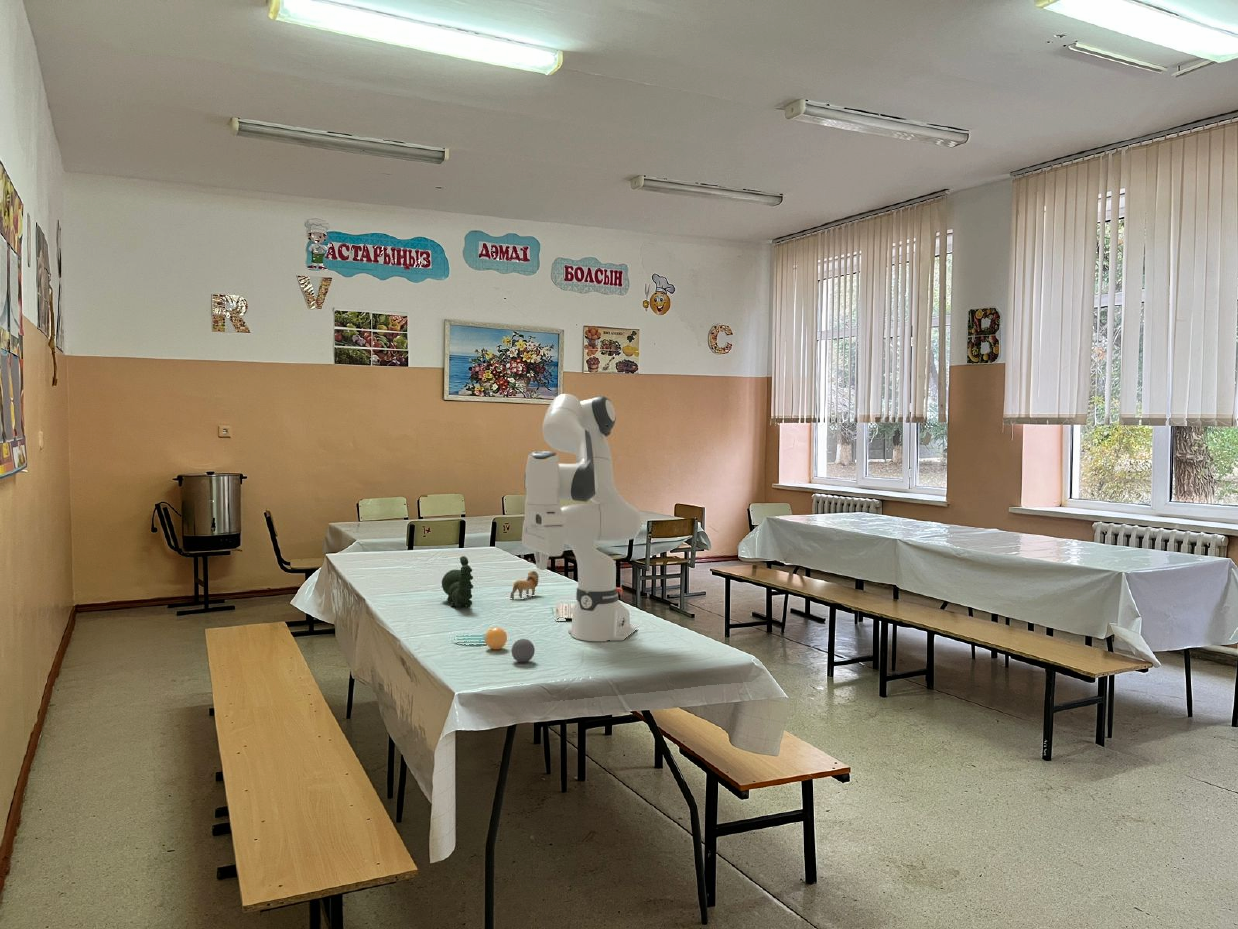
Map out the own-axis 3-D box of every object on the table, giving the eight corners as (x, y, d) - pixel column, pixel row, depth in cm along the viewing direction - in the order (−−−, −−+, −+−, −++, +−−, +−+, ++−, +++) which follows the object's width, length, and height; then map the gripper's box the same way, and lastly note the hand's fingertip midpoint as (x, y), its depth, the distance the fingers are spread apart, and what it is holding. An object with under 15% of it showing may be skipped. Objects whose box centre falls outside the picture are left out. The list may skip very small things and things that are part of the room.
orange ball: (493, 645, 233) (494, 624, 233) (511, 648, 230) (511, 626, 230) (480, 650, 228) (480, 628, 227) (498, 653, 225) (498, 631, 224)
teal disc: (472, 631, 248) (472, 630, 248) (510, 638, 241) (510, 637, 241) (441, 641, 236) (441, 640, 236) (480, 648, 229) (480, 648, 229)
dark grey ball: (520, 657, 221) (520, 635, 220) (538, 661, 218) (539, 638, 217) (506, 663, 215) (506, 640, 215) (525, 666, 212) (525, 643, 212)
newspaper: (551, 609, 284) (551, 601, 284) (586, 613, 285) (587, 605, 285) (549, 624, 262) (550, 616, 262) (588, 628, 262) (589, 620, 262)
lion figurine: (529, 593, 307) (530, 569, 306) (541, 595, 304) (542, 570, 304) (506, 600, 294) (506, 575, 293) (518, 602, 291) (519, 576, 291)
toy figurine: (479, 615, 277) (463, 594, 300) (481, 559, 275) (465, 542, 298) (451, 617, 274) (437, 595, 296) (453, 561, 271) (438, 543, 294)
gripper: (516, 511, 219) (515, 563, 220) (545, 519, 201) (544, 576, 201) (538, 510, 222) (538, 562, 222) (569, 518, 204) (568, 574, 204)
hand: (541, 569), depth 212 cm, fingers closed
